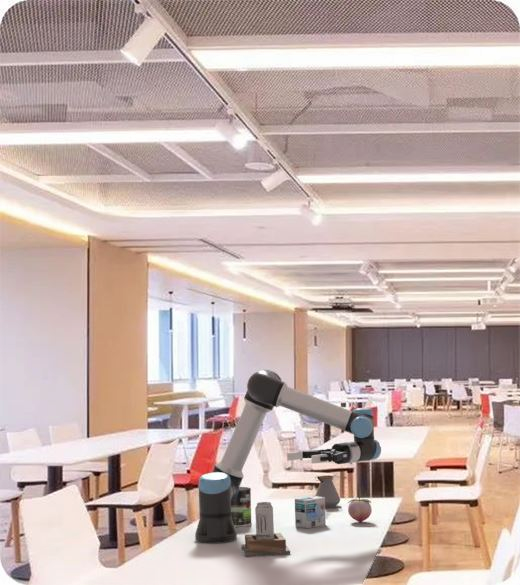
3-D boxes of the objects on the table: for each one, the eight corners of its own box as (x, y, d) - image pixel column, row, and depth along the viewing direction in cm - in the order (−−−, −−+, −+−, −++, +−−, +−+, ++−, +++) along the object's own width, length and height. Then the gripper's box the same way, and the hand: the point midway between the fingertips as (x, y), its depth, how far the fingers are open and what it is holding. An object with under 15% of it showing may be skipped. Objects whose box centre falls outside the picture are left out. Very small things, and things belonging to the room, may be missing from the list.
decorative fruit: (372, 520, 392) (371, 494, 392) (372, 523, 384) (371, 497, 384) (348, 520, 393) (347, 495, 393) (348, 524, 384) (347, 498, 385)
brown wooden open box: (241, 547, 345) (240, 534, 345) (283, 545, 347) (283, 532, 347) (245, 556, 330) (245, 542, 330) (290, 554, 332) (289, 540, 332)
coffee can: (257, 523, 391) (256, 487, 392) (240, 528, 383) (239, 491, 384) (236, 521, 398) (235, 486, 398) (220, 525, 389) (219, 489, 390)
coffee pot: (317, 504, 436) (316, 469, 436) (343, 504, 432) (342, 469, 433) (305, 512, 415) (303, 476, 416) (331, 512, 412) (330, 476, 413)
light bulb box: (306, 528, 378) (305, 500, 378) (294, 526, 383) (293, 498, 383) (326, 524, 385) (325, 496, 385) (314, 522, 390) (313, 495, 390)
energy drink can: (254, 548, 337) (252, 504, 337) (260, 545, 342) (258, 501, 343) (270, 549, 334) (269, 504, 335) (276, 546, 340) (275, 501, 341)
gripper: (368, 465, 352) (323, 471, 340) (323, 460, 372) (278, 466, 360) (367, 444, 353) (322, 449, 340) (322, 440, 373) (277, 445, 360)
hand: (299, 458), depth 350 cm, fingers open, 13 cm apart
